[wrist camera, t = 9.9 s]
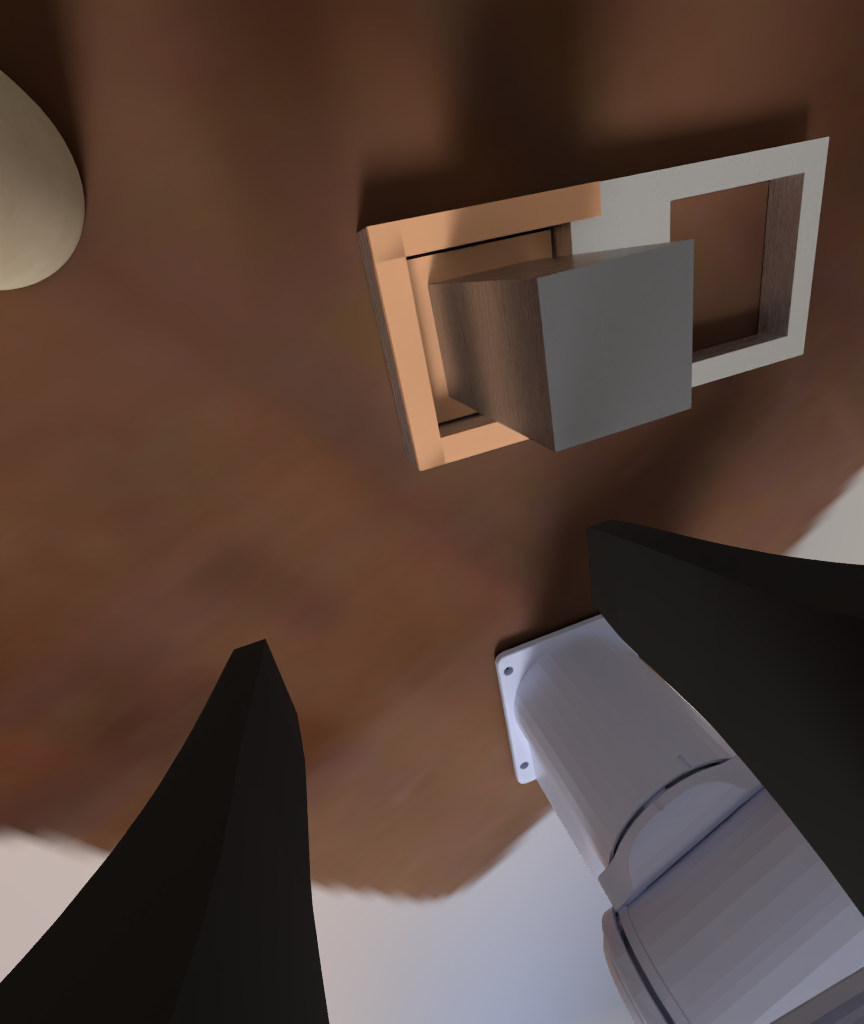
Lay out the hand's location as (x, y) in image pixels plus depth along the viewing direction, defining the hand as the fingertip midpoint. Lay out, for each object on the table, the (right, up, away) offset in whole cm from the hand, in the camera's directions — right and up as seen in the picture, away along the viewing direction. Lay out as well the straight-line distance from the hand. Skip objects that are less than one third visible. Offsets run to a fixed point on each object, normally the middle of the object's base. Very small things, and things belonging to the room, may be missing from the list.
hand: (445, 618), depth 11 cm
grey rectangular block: (+2, +9, +8) cm, 12 cm away
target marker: (+2, +9, +9) cm, 13 cm away
